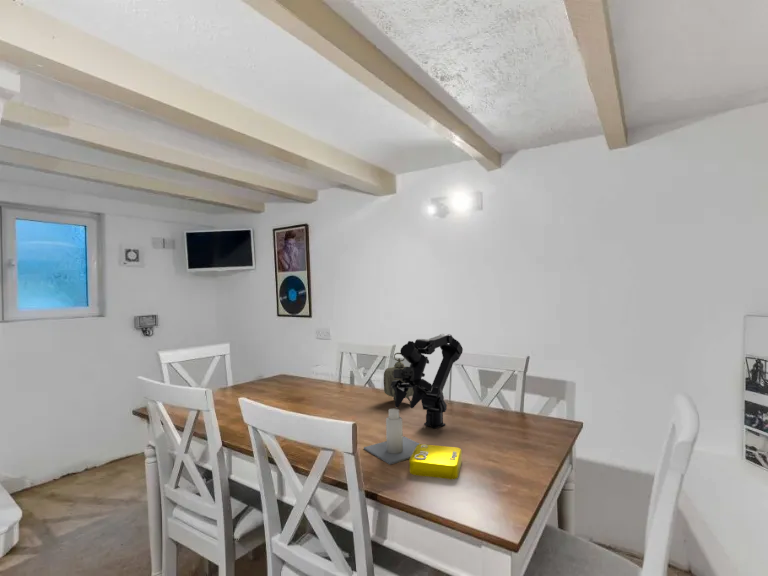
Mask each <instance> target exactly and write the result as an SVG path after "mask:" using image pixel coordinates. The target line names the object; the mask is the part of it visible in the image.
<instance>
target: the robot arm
mask: <svg viewBox="0 0 768 576" xmlns="http://www.w3.org/2000/svg"><path fill="white" fill-rule="evenodd" d="M437 348H440V350H441V355H442V359H441V362H440V364H439V367H438V369H437V372H436V374H435V377H434V379H433V381H432V383H431V382H429V381H427V380H426V379H425V378H424V377H425V376H426V374H425V373H424V371H425V369H426V366H427V364H428V365H429V364H430V360H429V357H428V356H425V355H433V353H434V352H436V349H437ZM463 350H464V349H463V347H462V344H461V342H459V340H457V339H456V338H454V337H453V335H452V334H450V333H441V334H439V335H436V336H434V337H431V338H427V339H426V338H417V339H416V340H415V341H412V340H409V341H408V342H407V343H405V344H404V345H402V347H401V348H400V352H399V353H401V354H400V355H401V356H402V357H403V359H404V358H405V359H404V360H406V361H407V362H408V363H409V366H407V367H404V369H395V370H394V376H393V378H401V380H402V381H404V382H405V383H404V382H402V381H400V380H394V381H392V383H391V387H392V389H394V391H395V400H394V407H395V408H396V409H399V407H400V405H401V404H402V402H403V401H404V399H406V398H405V396H406V394H407V393H406V392H407V391H408V388H413V396H411V397H412V398H411V399H410V401H411V404H410V405H409V407H410V408H411V409H414V407H416V405H418V403H419V402H420V401H421V405H422V410H426V414H425V422H424V423H423V424H424V425H425V426H428V427H430V428H433V429H437V428H440V427H444V426H447V425H446V423H444V413H446V411H447V407H448V405H447V402H445V400H444V399H445V396H444V393H443V392H444V389H445V386H446V382H447V381H448V378H449V375H450V373H451V370H452V368H453V365H454V363H455V362H457V361H458V360H459V359H460V357H461V356H462V354H463Z"/></svg>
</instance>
